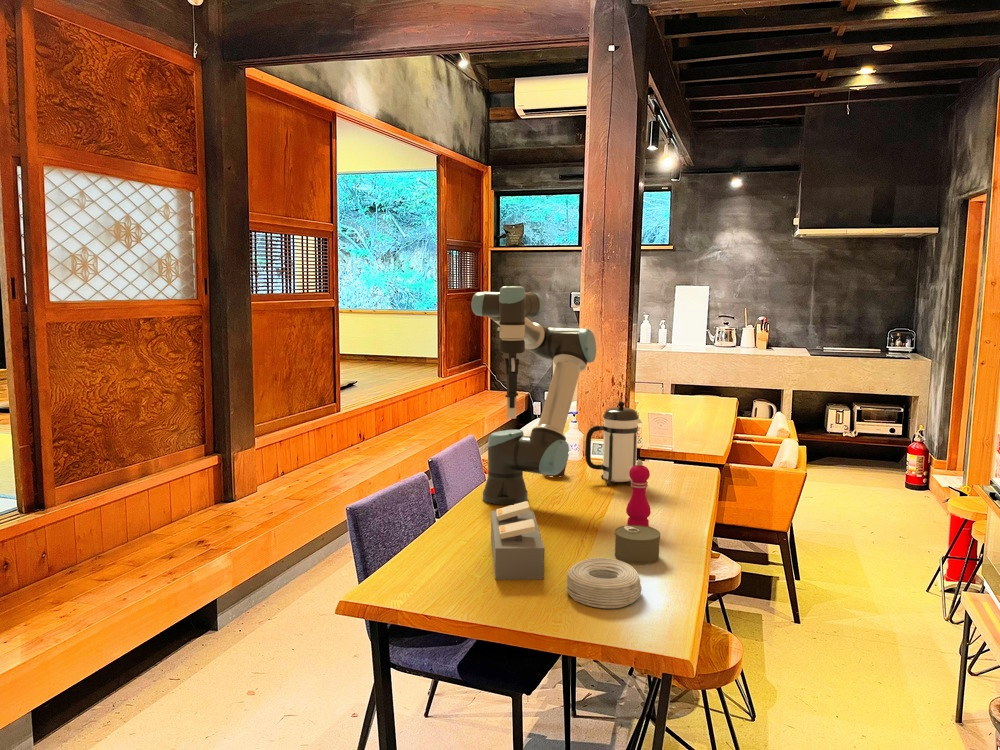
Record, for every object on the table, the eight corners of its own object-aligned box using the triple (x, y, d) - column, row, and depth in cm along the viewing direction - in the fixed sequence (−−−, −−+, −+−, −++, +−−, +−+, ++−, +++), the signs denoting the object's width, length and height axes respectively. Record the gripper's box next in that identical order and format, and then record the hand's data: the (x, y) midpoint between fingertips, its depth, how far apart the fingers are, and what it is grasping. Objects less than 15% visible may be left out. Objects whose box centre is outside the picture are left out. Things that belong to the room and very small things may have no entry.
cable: (608, 575, 187) (609, 551, 186) (657, 600, 172) (658, 575, 171) (551, 589, 178) (552, 565, 177) (598, 617, 163) (599, 591, 162)
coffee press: (612, 474, 284) (614, 396, 280) (647, 482, 273) (650, 401, 269) (583, 482, 272) (585, 401, 268) (619, 491, 261) (621, 406, 257)
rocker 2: (499, 531, 192) (498, 525, 192) (533, 523, 192) (532, 518, 192) (501, 539, 186) (499, 533, 186) (536, 531, 186) (535, 525, 186)
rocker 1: (497, 514, 207) (496, 508, 207) (528, 505, 207) (527, 500, 207) (498, 521, 201) (496, 515, 201) (530, 512, 201) (529, 506, 201)
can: (630, 568, 191) (630, 542, 190) (605, 552, 202) (606, 528, 201) (668, 561, 196) (669, 536, 195) (642, 546, 207) (643, 522, 206)
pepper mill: (650, 529, 220) (652, 463, 218) (625, 528, 222) (627, 462, 219) (650, 522, 227) (652, 458, 225) (626, 520, 229) (628, 456, 226)
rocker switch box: (490, 531, 218) (490, 500, 217) (531, 530, 219) (531, 500, 218) (495, 579, 183) (495, 543, 181) (544, 579, 183) (544, 543, 182)
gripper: (498, 337, 225) (498, 414, 228) (500, 341, 212) (500, 422, 215) (523, 337, 225) (522, 414, 228) (526, 341, 212) (525, 422, 215)
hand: (511, 418), depth 222 cm, fingers closed
